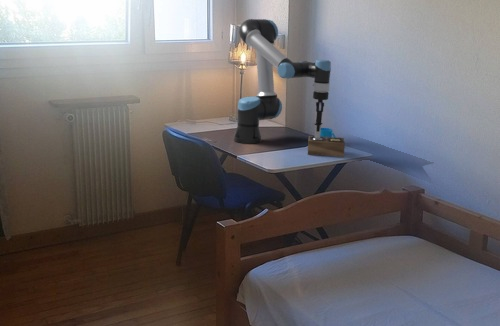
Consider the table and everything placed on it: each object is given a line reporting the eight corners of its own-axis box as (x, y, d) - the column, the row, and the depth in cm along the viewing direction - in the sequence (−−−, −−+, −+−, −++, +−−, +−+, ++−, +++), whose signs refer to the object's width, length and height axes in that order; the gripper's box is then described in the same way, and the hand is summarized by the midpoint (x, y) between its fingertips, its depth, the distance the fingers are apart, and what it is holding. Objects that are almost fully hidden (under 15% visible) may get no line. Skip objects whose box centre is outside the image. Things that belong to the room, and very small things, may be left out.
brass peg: (329, 151, 294) (330, 138, 292) (338, 151, 293) (340, 138, 291) (329, 153, 289) (330, 140, 287) (339, 154, 288) (340, 141, 286)
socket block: (307, 148, 298) (308, 135, 296) (342, 151, 296) (343, 137, 294) (307, 154, 286) (308, 140, 285) (343, 156, 285) (344, 142, 283)
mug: (313, 143, 311) (314, 128, 309) (323, 141, 317) (324, 127, 314) (330, 147, 303) (331, 132, 301) (339, 145, 308) (341, 131, 306)
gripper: (313, 88, 290) (310, 134, 296) (313, 92, 278) (309, 139, 284) (328, 89, 289) (324, 135, 296) (329, 93, 277) (325, 140, 283)
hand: (317, 137), depth 290 cm, fingers closed
